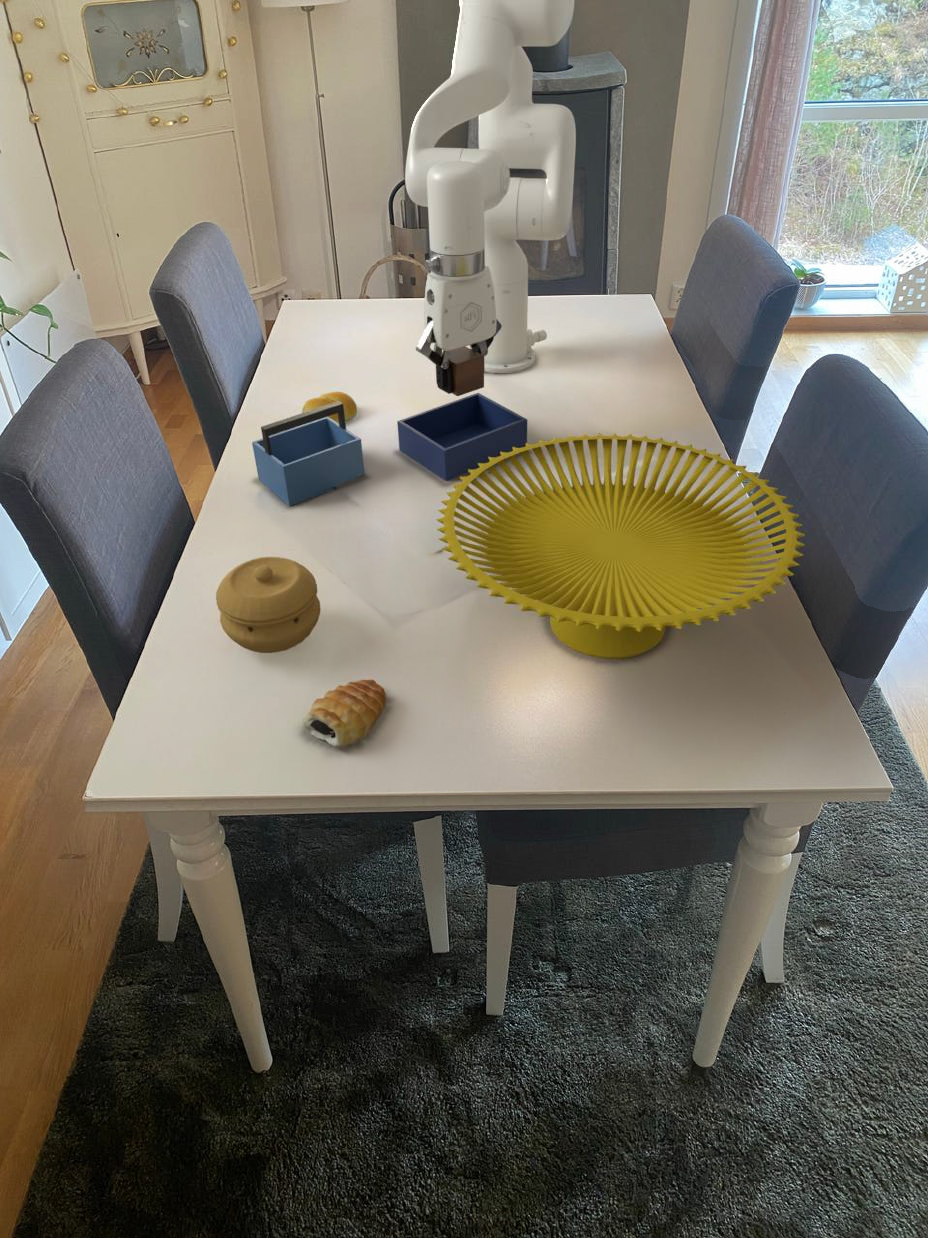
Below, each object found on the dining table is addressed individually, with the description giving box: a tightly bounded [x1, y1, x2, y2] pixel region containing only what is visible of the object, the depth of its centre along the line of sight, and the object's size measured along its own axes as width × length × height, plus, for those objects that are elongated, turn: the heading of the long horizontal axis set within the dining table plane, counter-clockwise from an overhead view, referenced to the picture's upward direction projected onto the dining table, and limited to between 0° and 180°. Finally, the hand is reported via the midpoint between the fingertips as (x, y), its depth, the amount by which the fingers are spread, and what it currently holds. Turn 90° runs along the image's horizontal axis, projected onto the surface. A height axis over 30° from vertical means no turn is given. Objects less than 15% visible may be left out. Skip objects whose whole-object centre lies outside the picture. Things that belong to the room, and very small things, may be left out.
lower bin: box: [396, 392, 528, 482], centre depth 147 cm, size 16×12×6 cm
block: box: [441, 346, 485, 397], centre depth 140 cm, size 5×5×5 cm
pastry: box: [302, 679, 387, 748], centre depth 101 cm, size 9×7×4 cm
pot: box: [215, 556, 321, 654], centre depth 111 cm, size 12×12×10 cm
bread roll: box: [301, 391, 358, 424], centre depth 158 cm, size 8×9×4 cm
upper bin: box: [251, 401, 366, 507], centre depth 140 cm, size 13×10×11 cm
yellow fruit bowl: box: [436, 432, 806, 660], centre depth 110 cm, size 40×40×15 cm
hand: (460, 383), depth 141 cm, fingers closed on block, 5 cm apart
